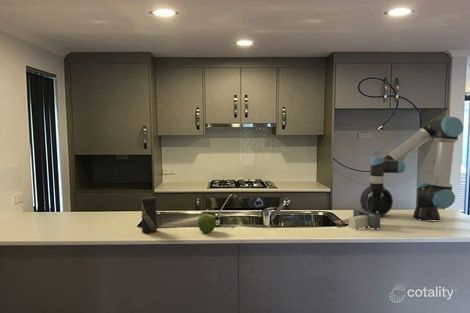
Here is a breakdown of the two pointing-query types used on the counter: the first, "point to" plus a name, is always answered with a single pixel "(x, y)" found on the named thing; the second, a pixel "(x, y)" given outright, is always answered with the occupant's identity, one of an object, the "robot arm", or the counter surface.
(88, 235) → the counter surface
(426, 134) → the robot arm
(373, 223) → the housing
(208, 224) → the apple
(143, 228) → the container
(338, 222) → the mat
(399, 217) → the counter surface
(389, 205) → the dark grey thick wheel
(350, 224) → the plug
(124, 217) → the counter surface
